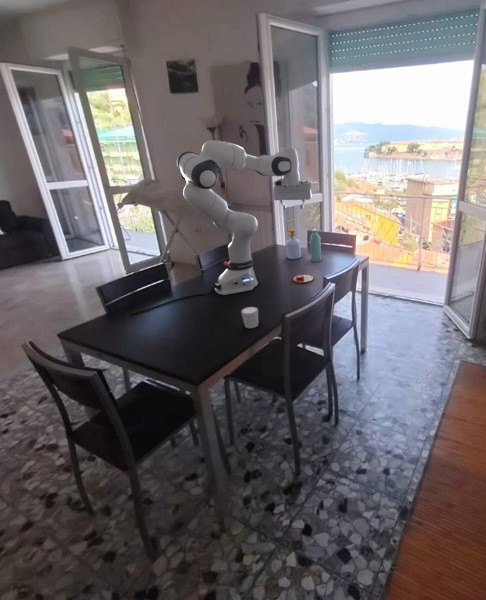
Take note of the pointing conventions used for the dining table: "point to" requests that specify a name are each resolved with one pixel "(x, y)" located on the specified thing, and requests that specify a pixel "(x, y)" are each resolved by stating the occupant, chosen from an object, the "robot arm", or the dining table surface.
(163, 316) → the dining table surface
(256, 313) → the white cylinder
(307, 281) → the coaster
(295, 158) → the robot arm
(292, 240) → the soap bottle
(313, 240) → the bottle
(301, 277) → the cap
